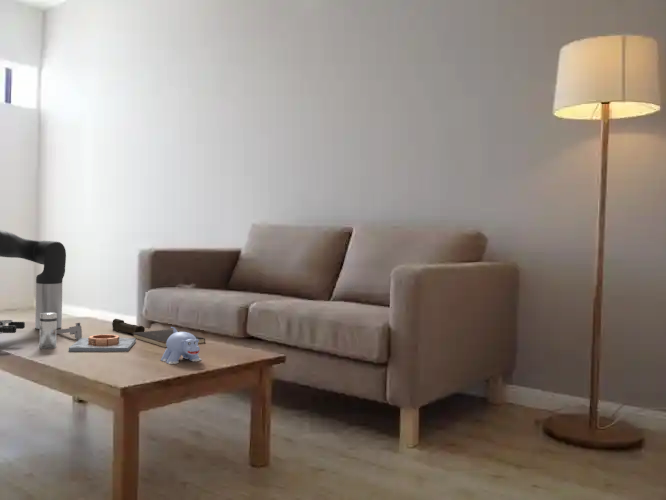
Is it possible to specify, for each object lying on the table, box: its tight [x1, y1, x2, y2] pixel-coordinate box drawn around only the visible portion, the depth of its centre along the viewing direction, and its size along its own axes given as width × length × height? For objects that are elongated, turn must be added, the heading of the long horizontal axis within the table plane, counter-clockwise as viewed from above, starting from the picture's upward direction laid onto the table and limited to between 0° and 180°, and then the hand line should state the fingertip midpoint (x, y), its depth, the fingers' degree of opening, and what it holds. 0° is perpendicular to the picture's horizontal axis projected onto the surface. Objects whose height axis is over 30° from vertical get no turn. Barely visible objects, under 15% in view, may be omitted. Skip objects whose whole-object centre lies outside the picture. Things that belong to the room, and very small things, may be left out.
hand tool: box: [111, 318, 146, 336], centre depth 242 cm, size 19×4×5 cm, turn 46°
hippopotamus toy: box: [160, 326, 203, 365], centre depth 194 cm, size 11×15×10 cm
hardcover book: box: [131, 328, 206, 348], centre depth 229 cm, size 16×23×2 cm
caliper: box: [57, 322, 83, 341], centre depth 230 cm, size 20×1×6 cm, turn 48°
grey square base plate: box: [68, 333, 137, 353], centre depth 214 cm, size 18×18×3 cm
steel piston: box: [38, 313, 58, 350], centre depth 209 cm, size 5×5×11 cm
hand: (20, 327), depth 208 cm, fingers open, 8 cm apart
